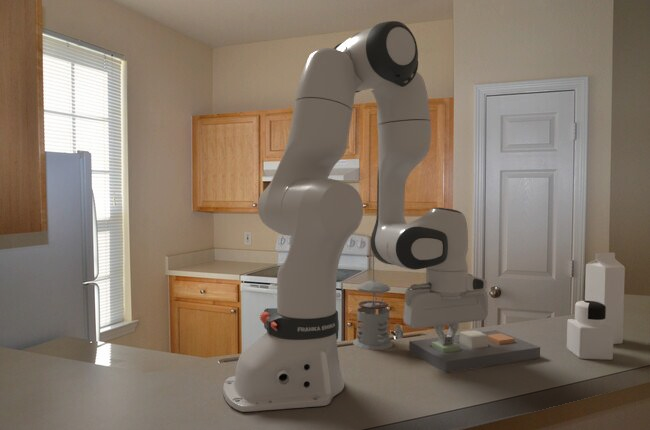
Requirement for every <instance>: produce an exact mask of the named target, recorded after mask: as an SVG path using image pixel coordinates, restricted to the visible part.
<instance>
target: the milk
mask: <svg viewBox="0 0 650 430" xmlns="http://www.w3.org/2000/svg"><path fill="white" fill-rule="evenodd" d="M625 273H626V267H625V266H624V265H623V264H622V263H621V262H620V261H619V260H617V259H616V252H597V253H595V259H594V260H592V261H590V262H587V263H586V264H585V281H584V282H585V283H584V284H585V286H584V301H595V302H599V303H602V304H603V305H605V307H606V316H605V322H604V323H605V324H606V325H608V326H610V327H612V328H613V329H614V336H613V345H618V344H623V341H624V340H623V338H624V337H623V336H624V333H623V332H624V311H625V310H624V309H625V308H624V305H625V303H624V302H625V279H626V278H625V277H626V276H625V275H626V274H625Z"/></svg>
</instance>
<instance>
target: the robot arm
mask: <svg viewBox="0 0 650 430" xmlns="http://www.w3.org/2000/svg"><path fill="white" fill-rule="evenodd" d="M418 68H419V50H418V44H417V40H416V38H415V36H414V34H413V33H412V31H411V30H410V28H409V27H408V26H407V25H406V24H404V23H403V22H402V21H398V20H396V21H395V20H389V21H383V22H379V23H377V24H376V25H374V26H373V27H371V28H368V29H365V30H363V31H359V32H356V33H355V34H353V35H351V36H350V37H349V38H347V39H345V40H344V41H343V42H341V43H338V44H337V45H336V46H334V47H332V48H331V47H325V48H319V49H317V50H315V51H313V52H312V53H311V54H310V55H309V56H308V58H307V60H306V62H305V64H304V67H303V70H302V73H301V76H300V79H299V82H298V87H297V90H296V96H295V99H294V100H295V102H294V106H293V112H292V116H291V122H290V128H289V133H288V139H287V141H286V146H285V148H284V151H283V154H282V156H281V158H280V162H279V163H278V166H277V168H276V170H275V173H274V175H273V177H272V179H271V181H270V183H269V184H268V185H267V187H266V188H265V189H264V190H263V191H262V192H261V194H260V196H259V199H258V201H257V212H258V216H259V218H260V220H261V222H262V223H263V224H264V225H265V226H266V227H268V228H270V229H271V230H272V231H274V232H276V233H278V234H279V235H284V236H288V237H289V236H290V237H291V239H290V244H289V245H290V246H289V249H288V253H287V255H286V259H285V260H284V262H283V263H282V264H281V265H279V268H278V271H277V273H276V277H277V279H276V287H277V288H276V291H277V292H276V301H277V302H276V305H277V307H276V309H277V310H276V311H275V312H273V313H272V314H270V313H269V312H268V311H263V312H261V314H260V316H259V320H260V321H261V323H263V324H264V325H266V332H265V334H263V335H262V336H261V337H260V338H258V339H257V340H256V341H255V342H253V343H251V345H250V346H249V347H248V348H246V349H245V350H243V351H242V352H241V354H240V355H239V358H238V360H237V364H236V368H235V375H233V376H229V377H228V378H227V379H225V381H224V383H223V387H222V394H223V397H224V399H225V401H226V402H227V404H228V405H229V406H230V407H231V408H233V409H234V410H237V411H239V412H242V413H243V412H245V413H247V412H259V411H260V412H261V411H262V412H263V411H274V410H287V409H300V408H311V407H323V406H328V405H329V404H330V403H331V402H332V399H333V398H334V397H335V396H337V395H338V394H340V393H341V392H342V391H343V389H344V388H345V381H344V378H343V375H342V371H341V367H340V364H341V363H340V360H339V353H338V352H339V351H338V339H339V331H340V329H339V327H340V326H339V325H340V323H339V312H338V310H337V281H338V280H337V277H338V269H339V264H340V260H341V257H342V253H343V251H344V248H345V246H346V244H347V241H348V240H349V238H350V237H351V236H352V235H353V234H354V233H355V232H357V230H358V228H359V227H360V226H361V223H362V221H363V216H364V204H363V203H364V202H363V200H362V197H361V195H360V193H359V191H358V190H357V189H356V188H355V186H353V185H351V184H350V183H346V182H343V181H340V180H338V179H337V180H336V179H332V178H329V177H330V174H331V173H332V170H333V168H334V167H335V165H336V164H337V163H338V162H339V161H340V160H341V159H342V158H343V157H344V155H345V153H346V151H347V147H348V143H349V136H350V129H351V125H352V124H351V123H352V117H353V111H354V104H355V103H354V102H355V96H356V94H357V93H360V92H362V91H366V90H370V89H372V90H371V93H372V95H373V97H374V99H375V101H376V105H377V106H376V107H377V108H376V109H377V110H376V111H377V114H376V116H377V117H376V118H377V119H376V120H377V121H376V122H377V137H378V140H377V141H378V142H377V143H378V162H377V163H378V165H377V178H376V179H377V180H376V182H377V183H376V186H377V187H376V189H377V190H376V219H375V224H374V227H373V229H372V232H371V236H370V243H371V246H370V249H371V251H372V255H373V254H374V258H376V259H377V260H378V261H380V262H381V263H382V264H383V263H384V264H385V265H392V266H397V267H400V268H402V269H408V270H414V271H415V270H422V269H425V270H426V271H425V275H426V276H425V283H420V284H416V283H413V284H410V286H409V287H408V288H407V289H406V290H405V293H404V300H405V302H404V307H403V318H402V321H403V323H404V324H405V326H407V327H408V328H410V329H413V330H416V329H425V328H432V327H433V329H434V332H435V333H436V335H437V336H438V337H437V338H438V342H439V344H441V345H445V344H453V343H454V336H455V335H457V334H456V333H457V332H458V330H459V327H460V326H459V324H464V323H472V322H473V323H474V322H480V321H485V320H486V319H487V317H488V316H489V297H488V292H487V291H486V289H487V287H488V281H487V279H485V278H481V277H478V276H475V275H473V274H471V273H468V272H469V269H468V268H469V267H468V263H467V254H468V251H469V231H468V223H467V218H466V216H465V215H464V213H463V212H461V211H459V210H457V209H453V208H444V207H432V208H431V209H430V210H428V212H426V213H425V214H424V215H422V216H421V217H419V218H417V219H415V220H412V221H409V223H407V222H406V219H405V198H406V197H405V193H406V183H407V179H408V177H409V176H410V174H411V172H412V171H413V170H414V169H415V168H416V167H418V165H419V164H420V163H422V161H423V160H425V158H426V157H427V155H428V153H429V152H430V148H431V139H432V126H431V125H432V122H431V120H432V119H431V110H430V102H429V97H428V91H427V88H426V86H427V85H426V83H425V81H424V78H423V76H422V74H420V73H419V72H418ZM446 326H447V327H449V328H448V330H447V332H446V333H444V330H445V329H446Z"/></svg>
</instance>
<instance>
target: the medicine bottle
mask: <svg viewBox="0 0 650 430" xmlns="http://www.w3.org/2000/svg"><path fill="white" fill-rule="evenodd" d="M605 316H606V307H605V305H603V304H602V303H599V302H595V301H585V300H579V301H577V302H576V303H575V305H574V318H568V319H567V324H566V325H567V326H566V327H567V328H566V349H567V350H569V351H570V353H572V354H573V355H574V356H576V357H577V358H578V359H581V360H583V359H584V360H603V361H604V360H605V361H607V360H608V361H612V360H613V358H614V344H613V336H614V329H613V328H612V327H610V326H608V325H606V324H605V323H604V322H605Z"/></svg>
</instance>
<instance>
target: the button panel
mask: <svg viewBox="0 0 650 430" xmlns="http://www.w3.org/2000/svg"><path fill="white" fill-rule="evenodd" d="M480 332H481V333H483V334H486V335H492V334H499V333H501V334H504V335H507V336H509V337H512V338H514V343H511V344H504V345H497V344H495V343H493V342H490V341H488V347H483V348H476V349H470V348H468V347H466V346H464V345H462V344H460V343H459V337H460V334H455V336H454V343H455V344H457V345H460V351H454V352H447V353H442V352H440V351H438V350H436V349H434V348H432V342H437V341H438V337H433V338H426V339H425V338H424V339H417V340H416V339H415V340H410V341H409V343H408V347H409V348H408V352H410V353H411V354H413V355H415V356H417V358H420V359H422V360H423V361H424V360H425V362H426V361H427V362H426V363H428V364H430V365H431V366H433V367H435V368H436V367H437V368H436V369H438V370H439V371H441V370H442V372H443V373H445V374H447V373H452V372H453V373H454V372H461V371H467V370H472V369H479V368H484V367H485V368H486V367H491V366H492V367H493V366H497V365H504V364H510V363H516V362H523V361H530V360H535V359H540V358H541V347H540V346H538V345H535V344H533V343H529V342H527V341H525V340H522V339H520V338H517V337H514V336H512V335H510V334H507V333H504V332H502V331H499V330H488V331H480Z"/></svg>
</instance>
